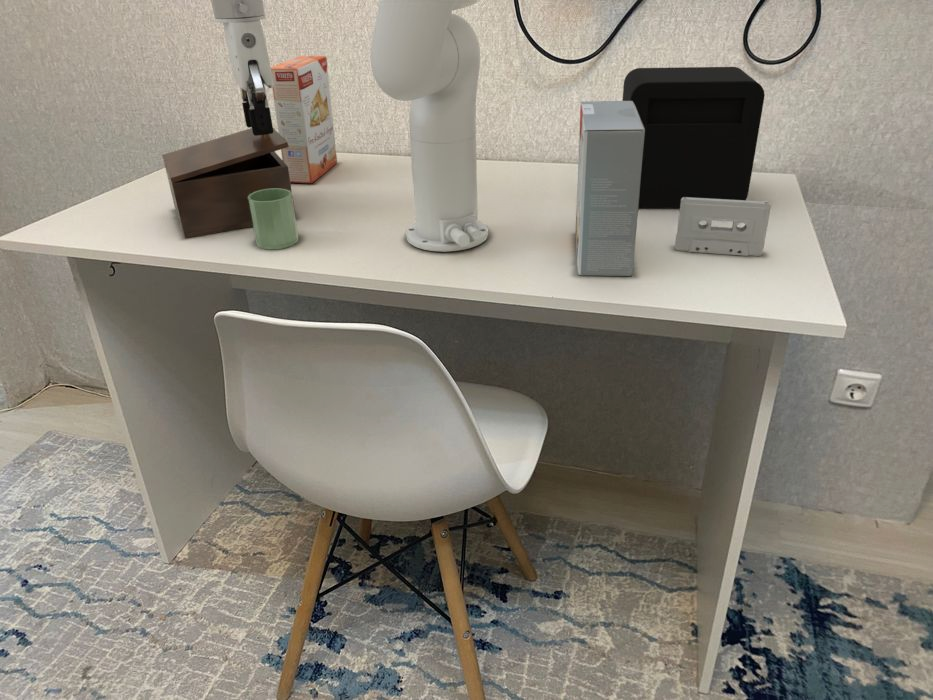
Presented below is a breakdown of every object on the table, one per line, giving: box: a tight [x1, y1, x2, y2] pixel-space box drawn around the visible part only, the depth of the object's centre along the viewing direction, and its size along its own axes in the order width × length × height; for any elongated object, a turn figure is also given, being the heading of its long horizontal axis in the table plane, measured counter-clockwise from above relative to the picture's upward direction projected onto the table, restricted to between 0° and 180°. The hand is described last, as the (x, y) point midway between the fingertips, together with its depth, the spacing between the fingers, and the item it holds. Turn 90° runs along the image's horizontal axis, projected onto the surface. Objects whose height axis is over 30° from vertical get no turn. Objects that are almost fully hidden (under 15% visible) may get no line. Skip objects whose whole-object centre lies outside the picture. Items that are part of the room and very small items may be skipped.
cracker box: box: [270, 55, 338, 184], centre depth 140 cm, size 14×6×21 cm, turn 168°
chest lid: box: [161, 108, 289, 183], centre depth 119 cm, size 19×15×5 cm
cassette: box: [674, 197, 772, 257], centre depth 104 cm, size 12×2×8 cm, turn 75°
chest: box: [163, 151, 297, 239], centre depth 124 cm, size 18×15×9 cm
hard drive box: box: [575, 100, 645, 277], centre depth 101 cm, size 16×8×20 cm, turn 174°
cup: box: [247, 188, 299, 251], centre depth 113 cm, size 6×6×8 cm
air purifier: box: [621, 66, 765, 209], centre depth 123 cm, size 20×15×20 cm
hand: (259, 129), depth 121 cm, fingers closed on chest lid, 5 cm apart
